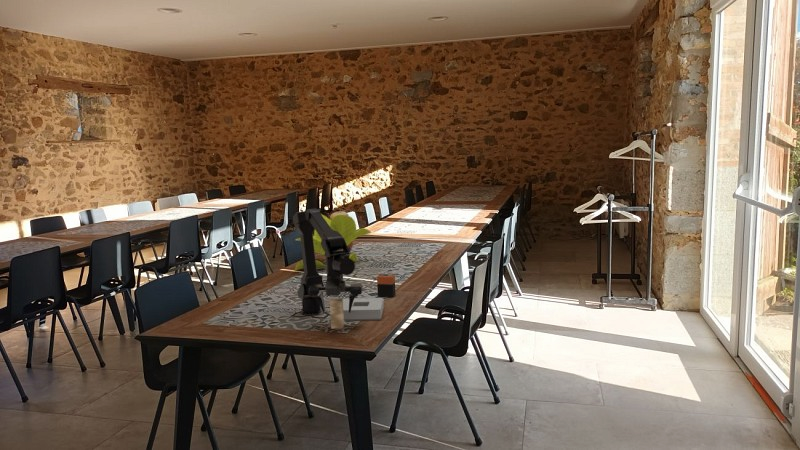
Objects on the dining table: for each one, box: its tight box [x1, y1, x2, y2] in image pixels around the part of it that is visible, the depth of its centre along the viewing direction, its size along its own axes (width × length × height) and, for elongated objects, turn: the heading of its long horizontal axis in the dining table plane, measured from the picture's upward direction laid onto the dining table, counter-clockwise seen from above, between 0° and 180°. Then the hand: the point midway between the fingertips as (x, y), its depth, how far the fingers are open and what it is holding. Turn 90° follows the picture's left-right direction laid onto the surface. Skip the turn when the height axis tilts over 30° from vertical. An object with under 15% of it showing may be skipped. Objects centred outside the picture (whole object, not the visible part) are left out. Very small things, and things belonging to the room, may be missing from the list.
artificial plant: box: [294, 213, 372, 272], centre depth 318 cm, size 42×43×30 cm
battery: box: [376, 271, 397, 298], centre depth 261 cm, size 4×7×10 cm, turn 73°
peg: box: [329, 297, 345, 330], centre depth 221 cm, size 4×4×10 cm
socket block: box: [343, 297, 385, 322], centre depth 236 cm, size 16×16×4 cm
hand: (336, 312), depth 222 cm, fingers open, 9 cm apart
